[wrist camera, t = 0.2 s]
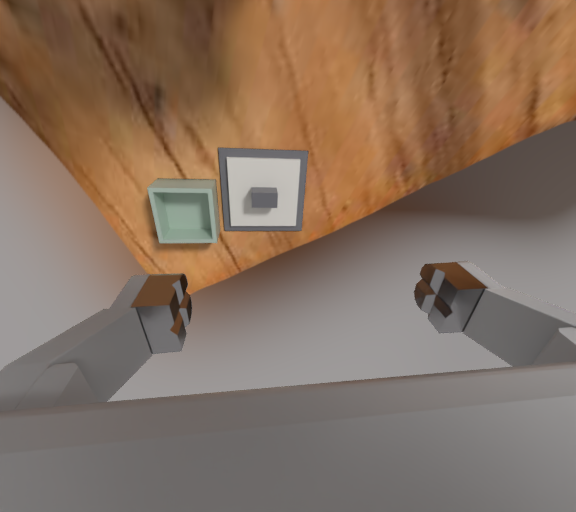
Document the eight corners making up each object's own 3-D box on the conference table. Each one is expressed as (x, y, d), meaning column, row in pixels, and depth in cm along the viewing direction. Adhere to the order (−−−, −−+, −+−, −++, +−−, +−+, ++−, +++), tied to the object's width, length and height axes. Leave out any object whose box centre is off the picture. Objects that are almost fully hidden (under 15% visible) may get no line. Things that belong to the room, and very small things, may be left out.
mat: (218, 147, 50) (218, 148, 50) (307, 150, 52) (308, 151, 52) (224, 229, 59) (224, 230, 59) (301, 229, 61) (301, 230, 61)
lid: (227, 156, 51) (225, 161, 47) (299, 159, 53) (303, 163, 49) (231, 224, 58) (229, 233, 54) (295, 224, 60) (297, 233, 56)
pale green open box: (157, 178, 52) (147, 187, 47) (215, 179, 53) (211, 188, 48) (167, 229, 58) (159, 243, 52) (220, 229, 59) (217, 242, 54)
